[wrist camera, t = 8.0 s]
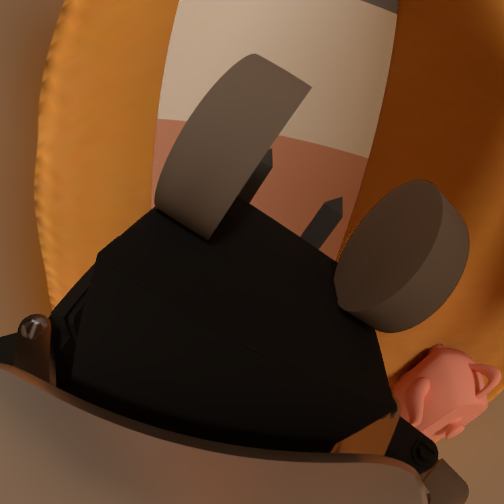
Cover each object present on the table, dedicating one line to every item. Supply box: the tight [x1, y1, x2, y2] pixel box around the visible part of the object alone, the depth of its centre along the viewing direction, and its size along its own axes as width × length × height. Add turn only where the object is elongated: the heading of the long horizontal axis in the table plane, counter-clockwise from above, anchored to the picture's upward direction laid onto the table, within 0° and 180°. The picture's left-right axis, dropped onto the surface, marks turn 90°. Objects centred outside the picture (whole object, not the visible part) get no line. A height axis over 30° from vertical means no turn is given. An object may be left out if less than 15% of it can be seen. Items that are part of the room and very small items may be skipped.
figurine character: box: [70, 54, 469, 453], centre depth 9 cm, size 7×8×15 cm
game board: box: [151, 0, 399, 261], centre depth 13 cm, size 33×14×1 cm, turn 170°
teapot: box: [393, 344, 501, 440], centre depth 22 cm, size 14×12×10 cm
